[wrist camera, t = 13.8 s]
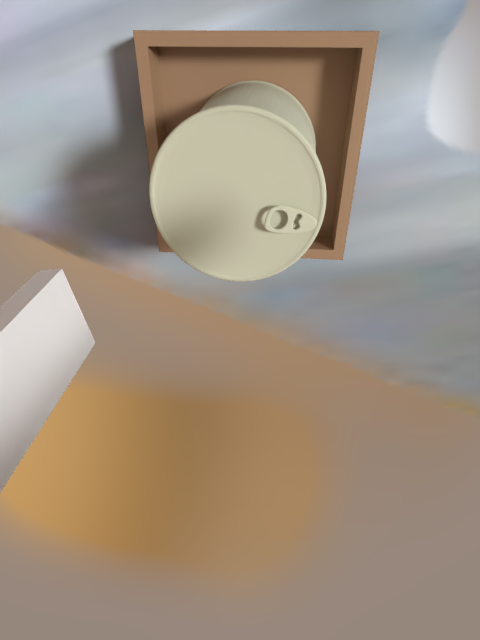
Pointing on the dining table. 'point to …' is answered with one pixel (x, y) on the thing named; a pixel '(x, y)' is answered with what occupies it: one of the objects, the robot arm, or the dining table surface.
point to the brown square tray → (277, 68)
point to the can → (240, 184)
